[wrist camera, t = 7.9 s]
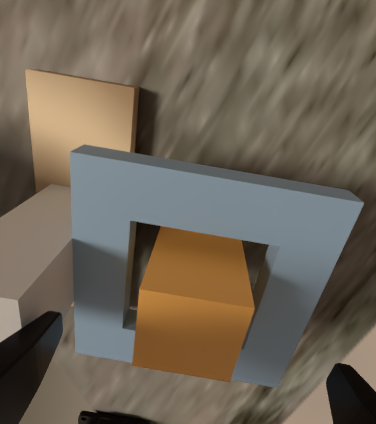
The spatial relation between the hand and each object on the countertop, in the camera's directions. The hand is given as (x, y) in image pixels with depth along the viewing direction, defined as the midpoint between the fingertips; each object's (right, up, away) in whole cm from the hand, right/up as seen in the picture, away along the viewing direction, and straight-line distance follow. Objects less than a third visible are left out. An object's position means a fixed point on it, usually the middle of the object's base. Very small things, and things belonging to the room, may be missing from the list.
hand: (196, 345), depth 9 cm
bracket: (-1, +3, +7) cm, 8 cm away
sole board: (-6, +5, +7) cm, 11 cm away
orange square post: (0, +3, +7) cm, 8 cm away
